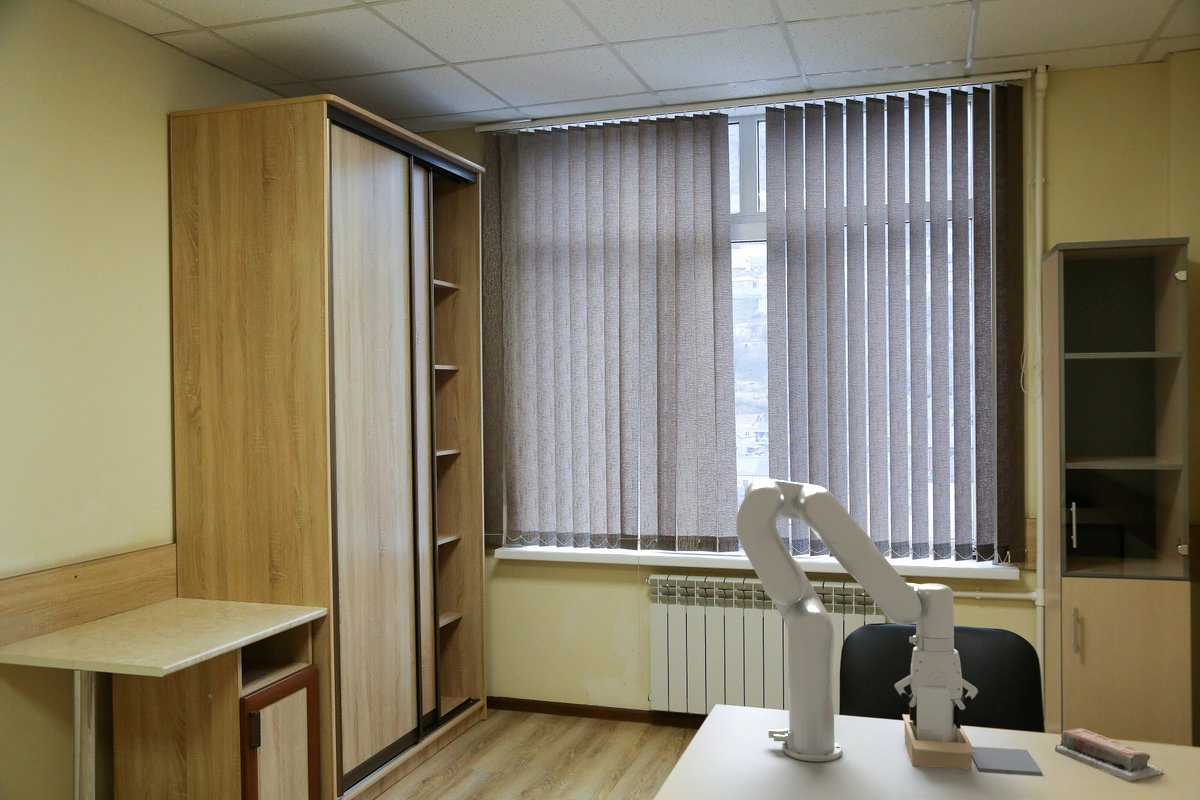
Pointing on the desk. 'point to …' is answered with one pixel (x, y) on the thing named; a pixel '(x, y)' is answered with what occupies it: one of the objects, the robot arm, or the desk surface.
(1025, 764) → the mat
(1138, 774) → the packaged product
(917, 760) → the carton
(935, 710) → the skincare box
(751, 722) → the desk surface
